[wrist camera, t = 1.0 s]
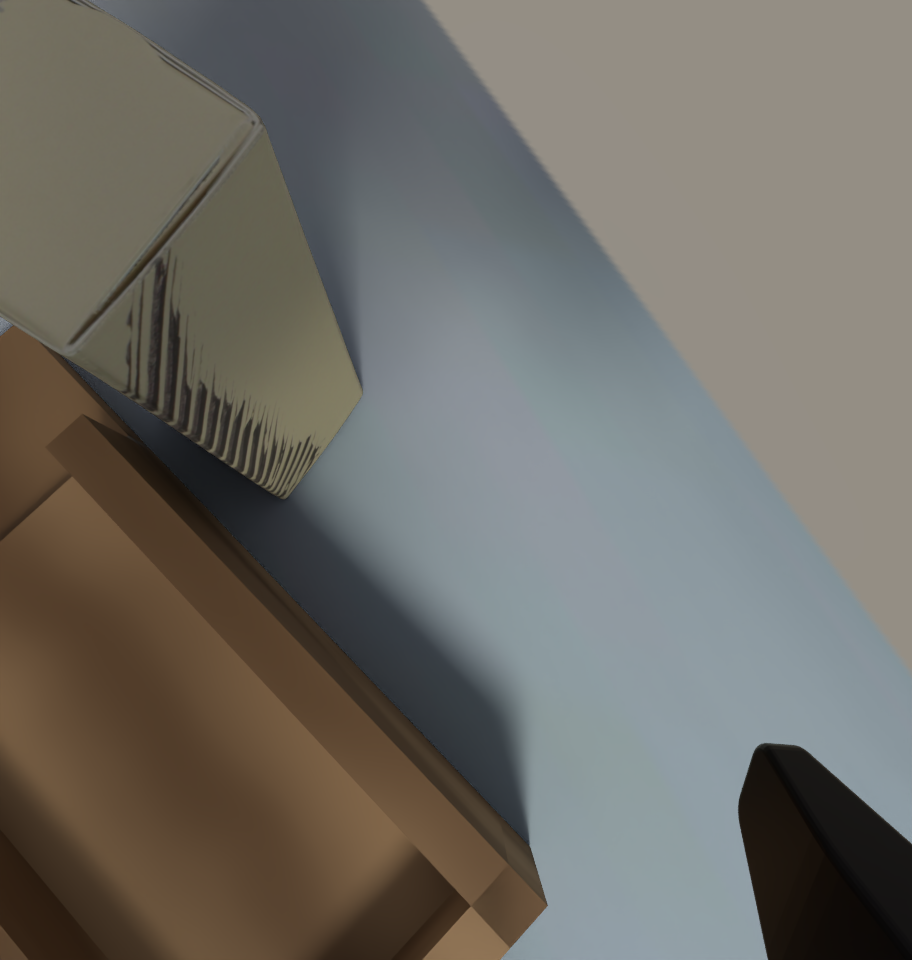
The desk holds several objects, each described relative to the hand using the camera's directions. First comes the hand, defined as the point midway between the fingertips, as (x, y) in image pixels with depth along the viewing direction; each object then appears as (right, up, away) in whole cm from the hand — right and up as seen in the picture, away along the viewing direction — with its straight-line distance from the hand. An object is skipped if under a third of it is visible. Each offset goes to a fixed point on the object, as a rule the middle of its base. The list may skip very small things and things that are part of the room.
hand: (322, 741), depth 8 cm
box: (-4, +5, +15) cm, 16 cm away
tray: (-8, -4, +13) cm, 15 cm away
